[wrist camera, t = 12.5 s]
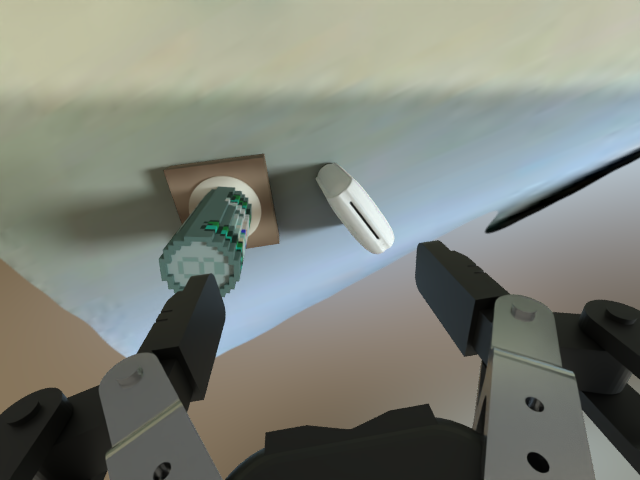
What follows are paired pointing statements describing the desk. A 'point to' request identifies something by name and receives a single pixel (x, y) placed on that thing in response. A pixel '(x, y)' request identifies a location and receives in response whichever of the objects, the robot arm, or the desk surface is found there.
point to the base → (232, 172)
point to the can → (210, 241)
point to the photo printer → (355, 208)
